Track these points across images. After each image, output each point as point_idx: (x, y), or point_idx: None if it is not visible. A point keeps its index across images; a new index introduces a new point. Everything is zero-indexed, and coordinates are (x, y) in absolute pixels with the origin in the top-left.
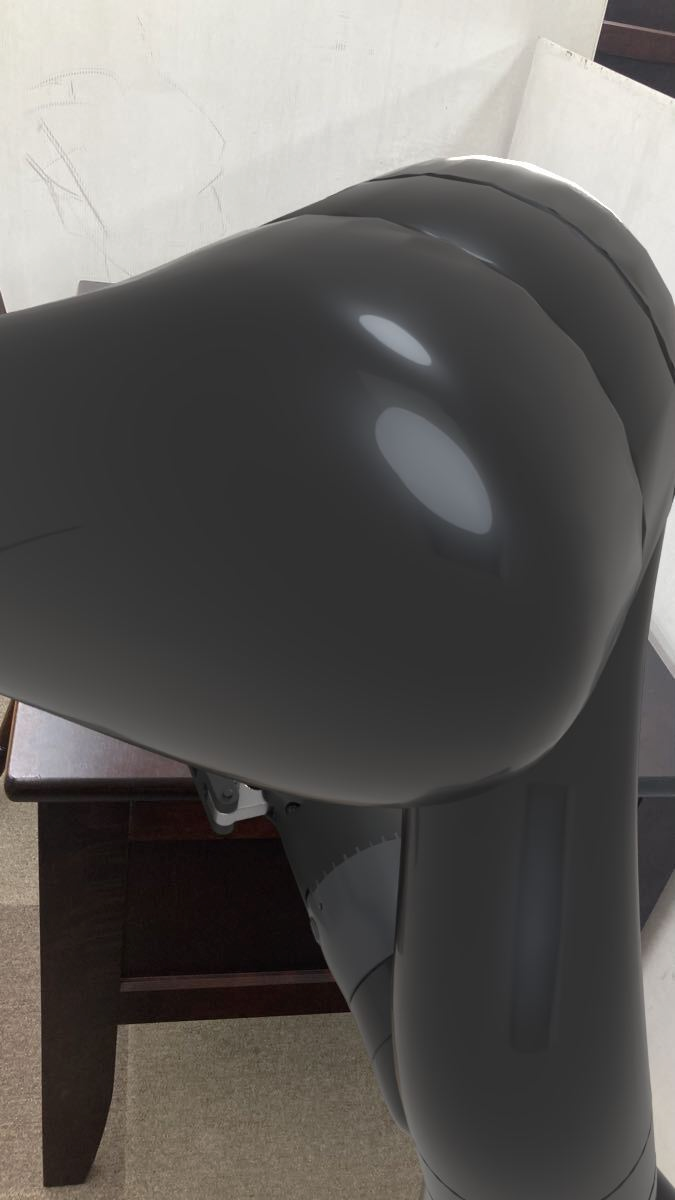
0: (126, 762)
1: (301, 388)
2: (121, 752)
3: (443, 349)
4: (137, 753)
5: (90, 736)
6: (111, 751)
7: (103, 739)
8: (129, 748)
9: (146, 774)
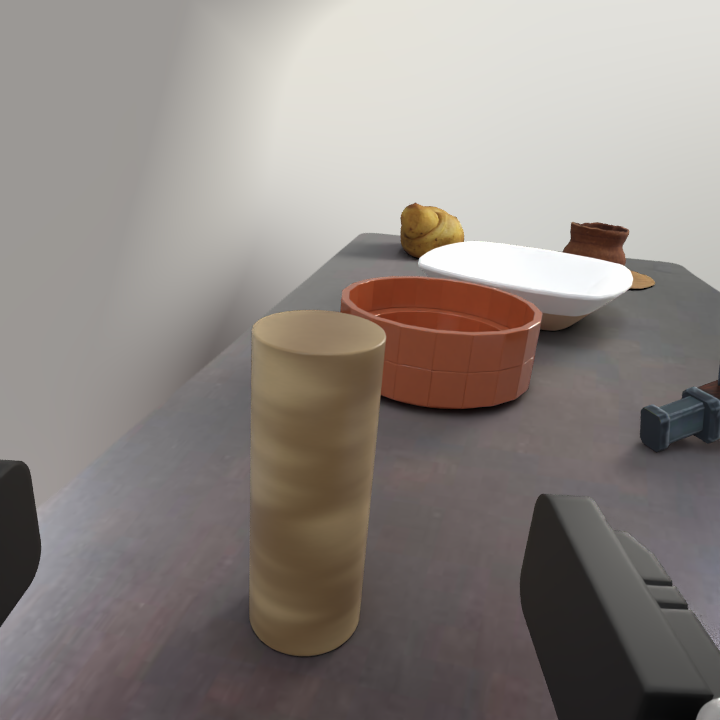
0: None
1: None
2: (39, 705)
3: None
4: (68, 715)
5: (13, 654)
6: (22, 698)
7: (30, 666)
8: (62, 699)
9: None
